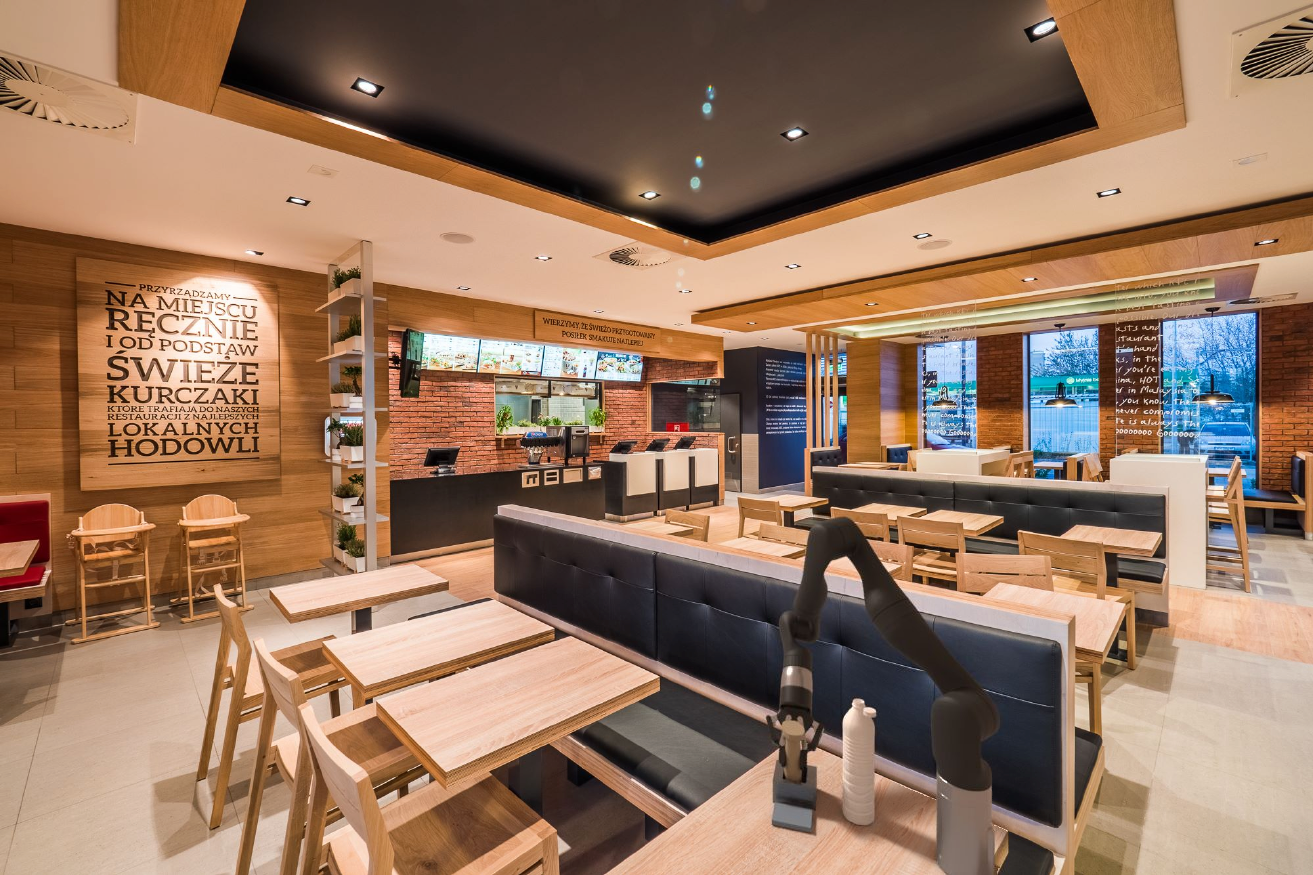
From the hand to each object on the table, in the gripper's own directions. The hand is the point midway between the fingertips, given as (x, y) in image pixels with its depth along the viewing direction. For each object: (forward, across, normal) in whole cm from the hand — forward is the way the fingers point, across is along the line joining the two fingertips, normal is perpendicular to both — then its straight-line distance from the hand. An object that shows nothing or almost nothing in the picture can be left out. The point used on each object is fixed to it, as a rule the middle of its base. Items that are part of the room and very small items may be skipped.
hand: (792, 767), depth 127 cm
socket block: (+4, 0, +6) cm, 8 cm away
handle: (+4, 0, +6) cm, 7 cm away
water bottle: (+7, +14, +4) cm, 16 cm away
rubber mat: (+10, 0, 0) cm, 10 cm away
